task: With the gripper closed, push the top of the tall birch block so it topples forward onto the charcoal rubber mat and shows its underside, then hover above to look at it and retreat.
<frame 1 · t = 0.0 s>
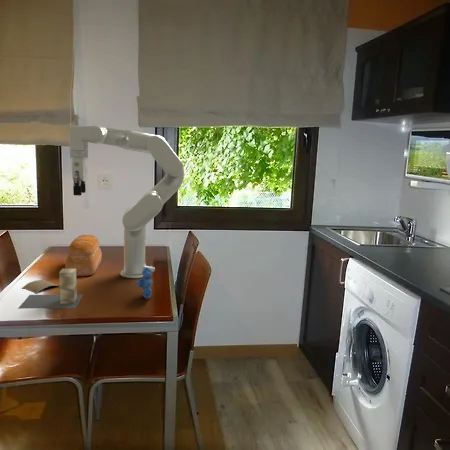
hand: (79, 193, 192), 37 cm above the table, tool pointing down, fingers open, 9 cm apart
rubber mat: (52, 302, 165), on the table
birch block: (68, 301, 165), resting on rubber mat
grapes: (144, 297, 174), on the table
clay tablet: (41, 290, 179), on the table
bread: (84, 269, 208), on the table
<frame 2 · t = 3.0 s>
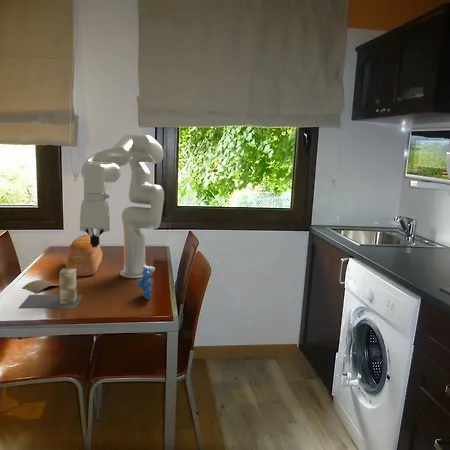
hand: (94, 246, 162), 22 cm above the table, tool pointing down, fingers closed
nothing on the table moved.
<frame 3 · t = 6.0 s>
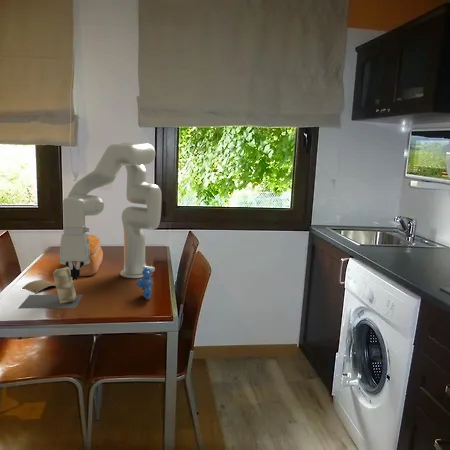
hand: (75, 278, 164), 9 cm above the table, tool pointing down, fingers closed
birch block: (68, 299, 165), point 1 cm above the table, tilted 11°, touching rubber mat
everything else where it was.
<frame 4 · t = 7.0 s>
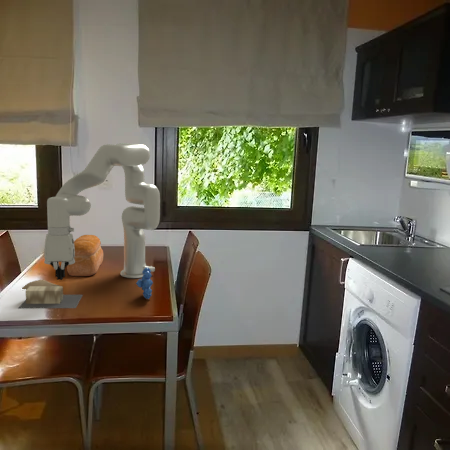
hand: (60, 278, 163), 9 cm above the table, tool pointing down, fingers closed
birch block: (61, 294, 165), point 3 cm above the table, tilted 90°, touching rubber mat
everything else where it was.
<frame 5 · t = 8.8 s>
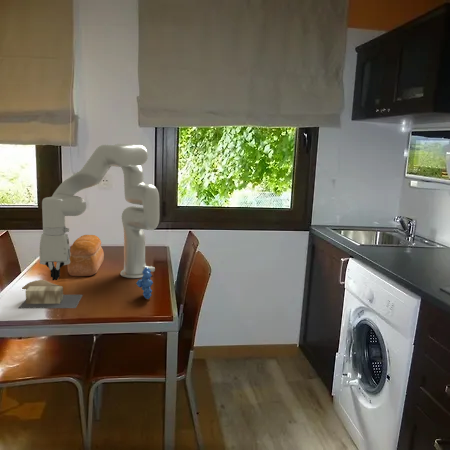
hand: (55, 279, 163), 9 cm above the table, tool pointing down, fingers closed
nothing on the table moved.
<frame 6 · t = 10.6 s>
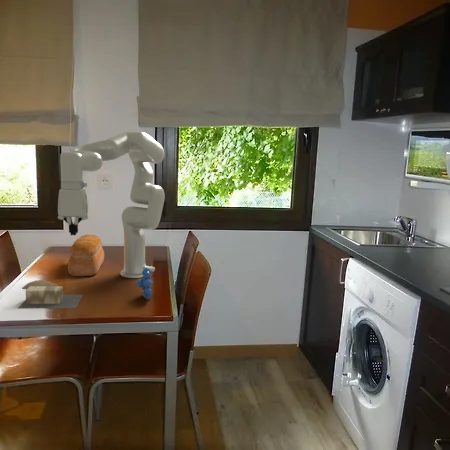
hand: (73, 234, 164), 25 cm above the table, tool pointing down, fingers closed
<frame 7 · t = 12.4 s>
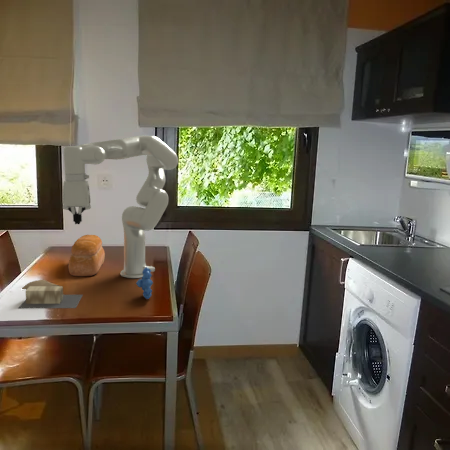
hand: (77, 223, 176), 27 cm above the table, tool pointing down, fingers closed
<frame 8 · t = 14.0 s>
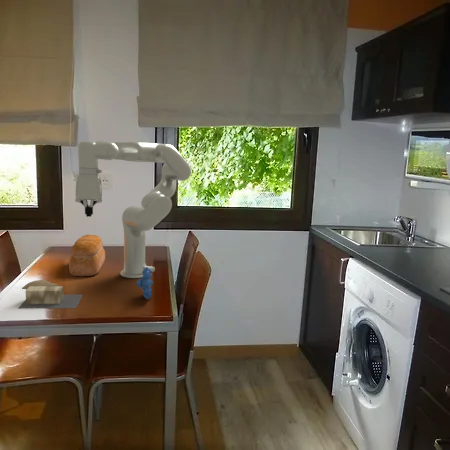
hand: (89, 216, 183), 29 cm above the table, tool pointing down, fingers closed
at the end: birch block tilted 90°; birch block inside the target area on the rubber mat (1.0 cm from its centre), point 2.9 cm above the rubber mat's base; birch block touching rubber mat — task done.
